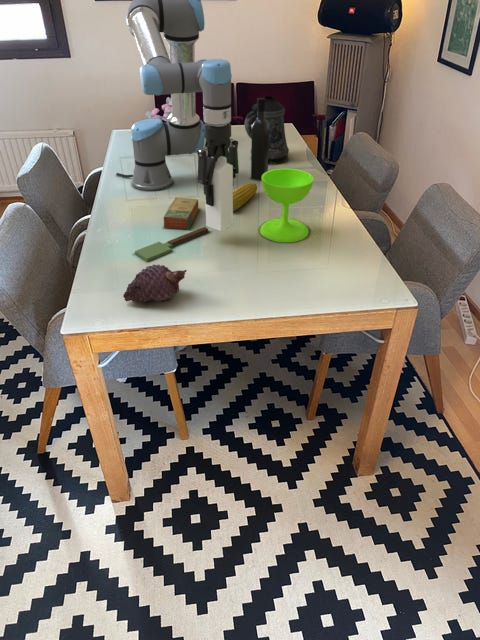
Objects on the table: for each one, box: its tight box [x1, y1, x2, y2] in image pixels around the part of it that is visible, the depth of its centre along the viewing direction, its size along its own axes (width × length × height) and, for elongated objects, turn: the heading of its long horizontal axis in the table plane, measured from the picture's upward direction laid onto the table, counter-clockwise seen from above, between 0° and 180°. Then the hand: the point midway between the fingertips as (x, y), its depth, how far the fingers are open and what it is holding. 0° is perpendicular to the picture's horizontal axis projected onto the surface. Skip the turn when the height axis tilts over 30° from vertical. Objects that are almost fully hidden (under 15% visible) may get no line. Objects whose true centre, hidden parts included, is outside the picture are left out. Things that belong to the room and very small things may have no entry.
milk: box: [204, 156, 234, 232], centre depth 153 cm, size 6×6×22 cm
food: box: [233, 182, 258, 211], centre depth 185 cm, size 21×6×6 cm, turn 155°
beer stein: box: [244, 96, 290, 165], centre depth 216 cm, size 16×19×25 cm
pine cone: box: [122, 263, 187, 303], centre depth 134 cm, size 18×10×10 cm
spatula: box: [134, 226, 209, 263], centre depth 161 cm, size 26×6×1 cm, turn 133°
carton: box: [163, 197, 199, 230], centre depth 174 cm, size 8×16×4 cm, turn 171°
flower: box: [142, 96, 172, 123], centre depth 232 cm, size 20×22×25 cm
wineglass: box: [259, 167, 314, 243], centre depth 163 cm, size 16×16×18 cm
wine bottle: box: [250, 97, 269, 181], centre depth 197 cm, size 6×6×30 cm
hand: (219, 201), depth 155 cm, fingers closed on milk, 7 cm apart
